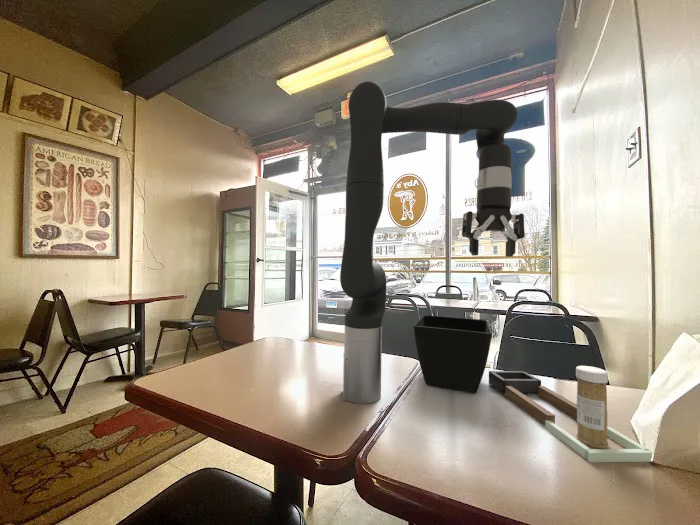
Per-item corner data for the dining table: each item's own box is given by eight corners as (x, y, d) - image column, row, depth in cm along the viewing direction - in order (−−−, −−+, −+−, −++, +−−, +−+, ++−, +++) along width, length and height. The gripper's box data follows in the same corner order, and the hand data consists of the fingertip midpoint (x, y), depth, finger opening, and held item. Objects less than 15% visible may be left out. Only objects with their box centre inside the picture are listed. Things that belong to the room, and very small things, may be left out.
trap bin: (502, 394, 75) (503, 380, 75) (488, 383, 82) (488, 371, 82) (541, 394, 76) (541, 380, 76) (523, 383, 83) (523, 371, 83)
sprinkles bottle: (612, 444, 54) (611, 370, 54) (602, 452, 51) (602, 374, 52) (581, 432, 58) (581, 363, 58) (571, 440, 55) (571, 367, 55)
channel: (547, 428, 59) (547, 415, 59) (505, 396, 74) (505, 385, 74) (595, 427, 60) (595, 415, 60) (543, 396, 75) (543, 386, 75)
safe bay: (590, 462, 49) (590, 453, 49) (545, 428, 59) (545, 420, 59) (654, 461, 49) (654, 452, 49) (598, 427, 60) (598, 420, 60)
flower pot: (491, 402, 70) (492, 331, 71) (411, 389, 77) (412, 324, 78) (487, 376, 88) (487, 319, 88) (422, 367, 95) (423, 315, 95)
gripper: (471, 183, 68) (470, 254, 68) (532, 186, 68) (531, 256, 68) (458, 192, 75) (457, 255, 75) (513, 194, 76) (511, 257, 76)
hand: (492, 256), depth 72 cm, fingers open, 8 cm apart
